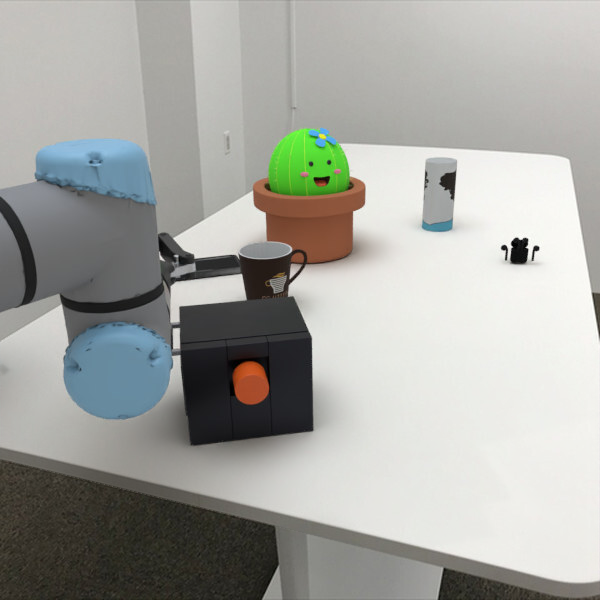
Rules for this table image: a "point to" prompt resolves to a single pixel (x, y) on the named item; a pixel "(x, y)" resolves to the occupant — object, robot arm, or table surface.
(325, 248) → the potted cactus
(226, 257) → the phone
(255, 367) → the button
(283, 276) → the coffee mug
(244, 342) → the black drawer box
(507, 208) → the table surface
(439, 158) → the white patterned cylinder
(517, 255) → the wireless earbuds
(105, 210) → the robot arm
